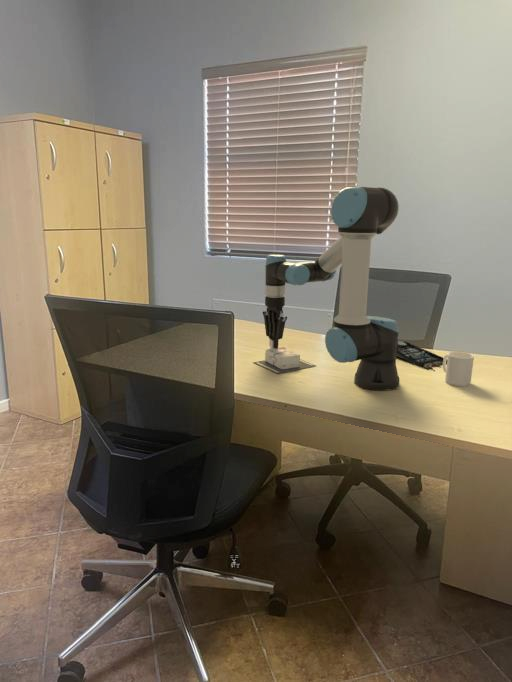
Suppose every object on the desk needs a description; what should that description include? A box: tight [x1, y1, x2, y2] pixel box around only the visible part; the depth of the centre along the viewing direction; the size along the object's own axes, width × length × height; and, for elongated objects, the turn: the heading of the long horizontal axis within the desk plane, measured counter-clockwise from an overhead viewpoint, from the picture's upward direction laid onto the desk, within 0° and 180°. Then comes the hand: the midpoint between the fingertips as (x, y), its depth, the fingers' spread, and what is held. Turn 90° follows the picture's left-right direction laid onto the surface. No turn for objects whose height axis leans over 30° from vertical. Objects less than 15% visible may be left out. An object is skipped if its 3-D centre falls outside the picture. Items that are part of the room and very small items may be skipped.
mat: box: [252, 358, 317, 375], centre depth 200 cm, size 16×18×1 cm
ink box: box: [264, 346, 301, 369], centre depth 199 cm, size 9×5×12 cm
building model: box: [396, 340, 448, 372], centre depth 208 cm, size 14×7×30 cm
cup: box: [442, 351, 475, 388], centre depth 182 cm, size 8×12×10 cm
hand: (273, 355), depth 205 cm, fingers closed
